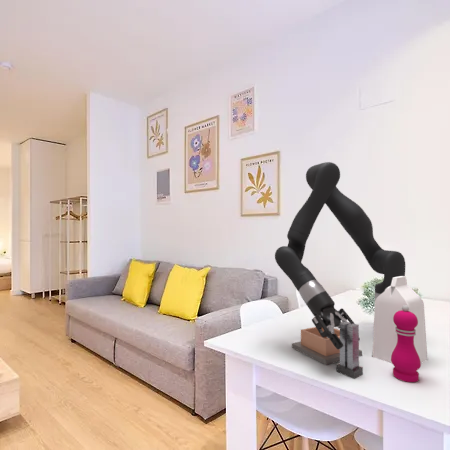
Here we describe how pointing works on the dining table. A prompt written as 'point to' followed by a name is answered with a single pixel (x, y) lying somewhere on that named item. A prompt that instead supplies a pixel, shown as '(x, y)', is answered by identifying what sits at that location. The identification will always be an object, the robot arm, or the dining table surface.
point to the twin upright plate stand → (349, 351)
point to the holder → (318, 346)
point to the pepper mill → (405, 347)
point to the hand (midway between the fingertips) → (349, 344)
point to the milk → (385, 325)
